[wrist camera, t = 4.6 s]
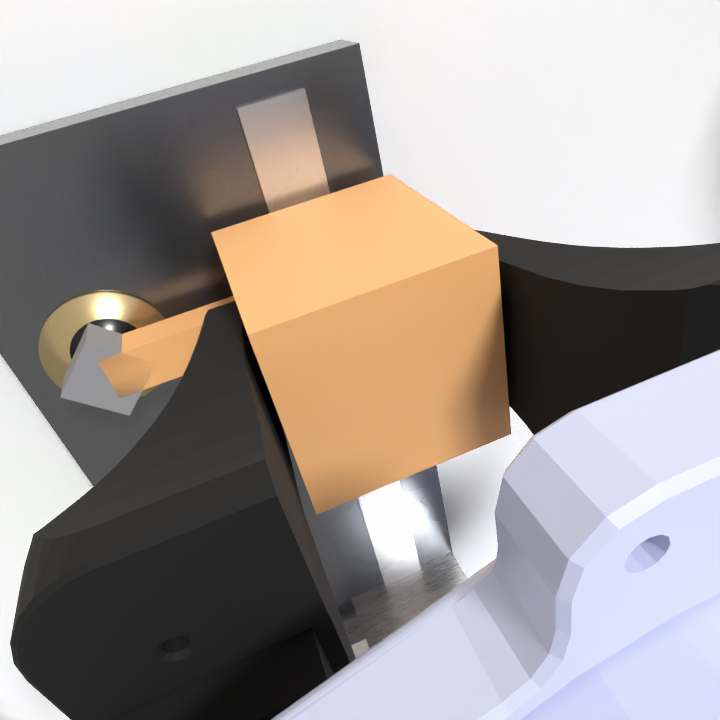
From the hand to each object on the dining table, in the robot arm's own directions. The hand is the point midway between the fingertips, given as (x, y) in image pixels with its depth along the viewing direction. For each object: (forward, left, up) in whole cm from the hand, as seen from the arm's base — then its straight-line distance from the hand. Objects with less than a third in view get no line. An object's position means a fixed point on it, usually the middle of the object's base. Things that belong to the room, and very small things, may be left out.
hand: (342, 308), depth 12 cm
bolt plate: (-6, +2, -3) cm, 7 cm away
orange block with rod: (0, +2, -1) cm, 2 cm away
